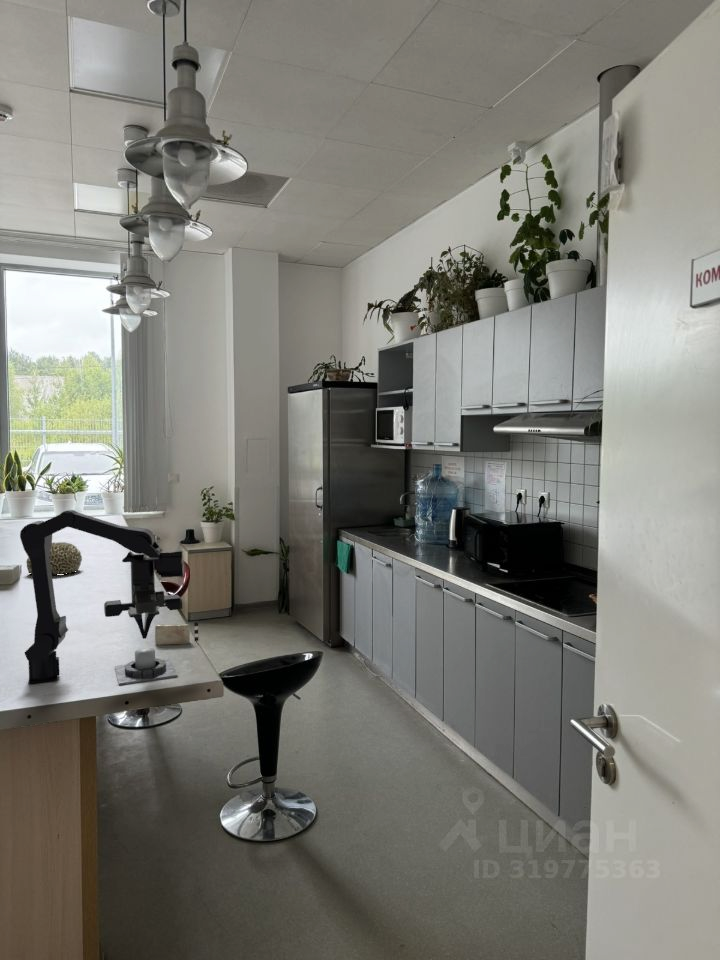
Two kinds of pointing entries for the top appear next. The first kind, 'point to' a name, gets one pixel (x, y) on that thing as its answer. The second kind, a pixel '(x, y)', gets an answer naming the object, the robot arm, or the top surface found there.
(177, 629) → the cuneiform tablet
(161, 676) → the notched ring on plate
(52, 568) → the coral
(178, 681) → the top surface
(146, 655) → the cap
